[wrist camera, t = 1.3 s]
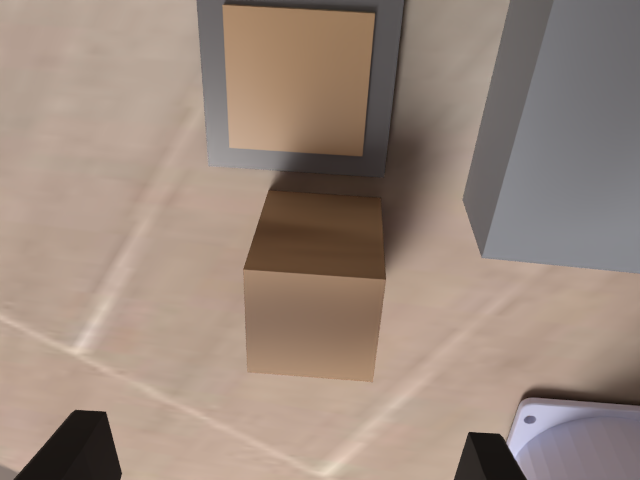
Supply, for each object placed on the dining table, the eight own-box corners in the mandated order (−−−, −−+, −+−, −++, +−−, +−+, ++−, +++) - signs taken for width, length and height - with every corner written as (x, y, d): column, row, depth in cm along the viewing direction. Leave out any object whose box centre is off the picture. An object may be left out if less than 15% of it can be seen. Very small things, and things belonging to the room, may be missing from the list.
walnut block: (370, 287, 22) (372, 381, 17) (269, 280, 22) (247, 372, 18) (380, 197, 20) (385, 279, 15) (268, 189, 20) (243, 269, 15)
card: (383, 172, 19) (384, 180, 18) (211, 161, 19) (207, 168, 19) (405, -19, 16) (406, -16, 15) (198, -30, 16) (192, -27, 15)
